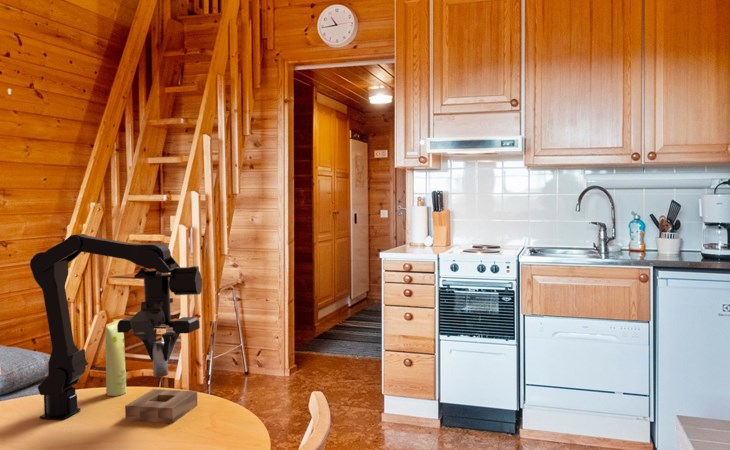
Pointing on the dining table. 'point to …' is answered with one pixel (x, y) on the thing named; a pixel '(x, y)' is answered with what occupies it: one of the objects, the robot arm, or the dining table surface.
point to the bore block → (161, 406)
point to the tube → (115, 361)
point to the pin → (159, 359)
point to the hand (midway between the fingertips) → (160, 360)
